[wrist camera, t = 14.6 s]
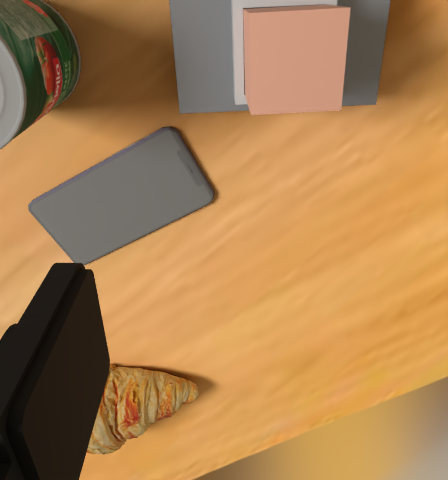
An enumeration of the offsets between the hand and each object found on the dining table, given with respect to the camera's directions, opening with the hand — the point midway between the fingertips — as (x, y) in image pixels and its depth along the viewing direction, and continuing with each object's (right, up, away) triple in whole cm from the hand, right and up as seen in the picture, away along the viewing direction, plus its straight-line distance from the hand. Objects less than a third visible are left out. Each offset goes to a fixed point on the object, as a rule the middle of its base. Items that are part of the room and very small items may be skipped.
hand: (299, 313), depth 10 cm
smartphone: (-11, +5, +28) cm, 30 cm away
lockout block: (+2, +13, +17) cm, 22 cm away
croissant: (-15, -16, +40) cm, 46 cm away
